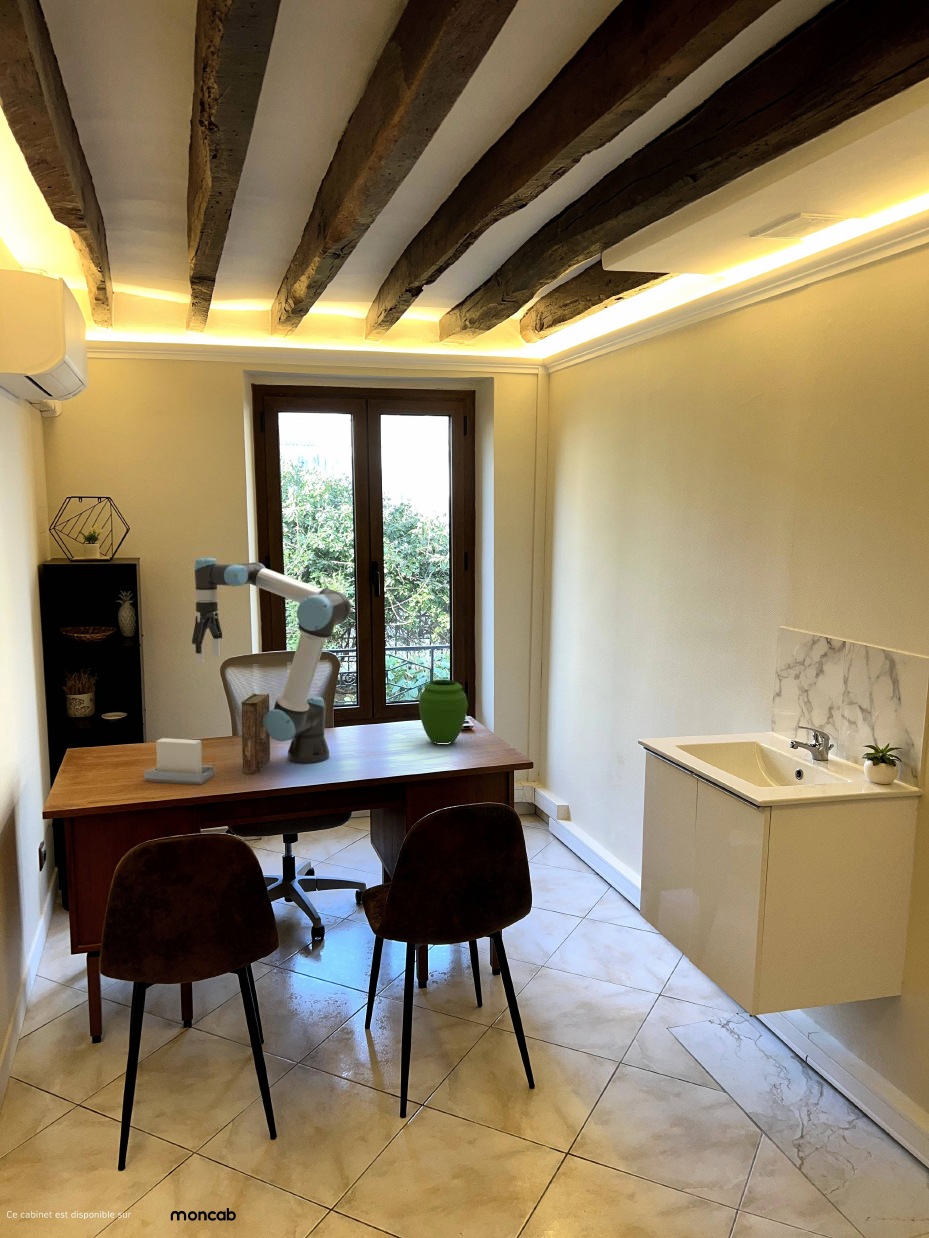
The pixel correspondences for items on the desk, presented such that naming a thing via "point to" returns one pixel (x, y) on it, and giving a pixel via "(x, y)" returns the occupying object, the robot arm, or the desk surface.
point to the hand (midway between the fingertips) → (208, 659)
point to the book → (255, 733)
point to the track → (180, 776)
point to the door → (179, 755)
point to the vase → (443, 710)
